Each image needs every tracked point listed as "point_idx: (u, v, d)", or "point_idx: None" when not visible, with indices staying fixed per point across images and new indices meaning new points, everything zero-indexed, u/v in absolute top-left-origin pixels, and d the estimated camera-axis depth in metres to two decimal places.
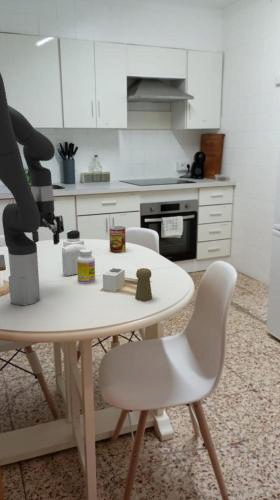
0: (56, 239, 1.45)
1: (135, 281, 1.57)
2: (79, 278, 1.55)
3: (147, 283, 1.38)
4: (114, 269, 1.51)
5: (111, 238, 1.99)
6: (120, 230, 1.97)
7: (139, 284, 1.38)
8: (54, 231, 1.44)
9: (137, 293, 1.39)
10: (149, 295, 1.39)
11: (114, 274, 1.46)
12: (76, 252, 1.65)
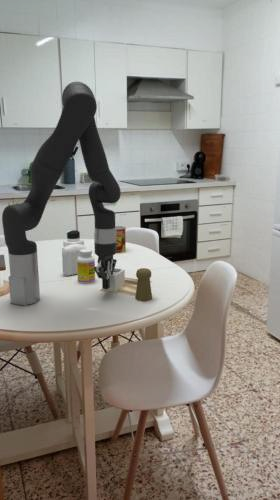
0: None
1: (135, 281, 1.57)
2: (79, 278, 1.55)
3: (147, 283, 1.38)
4: (114, 269, 1.51)
5: None
6: (120, 230, 1.97)
7: (139, 284, 1.38)
8: (110, 274, 1.44)
9: (137, 293, 1.39)
10: (149, 295, 1.39)
11: (114, 274, 1.46)
12: (76, 252, 1.65)
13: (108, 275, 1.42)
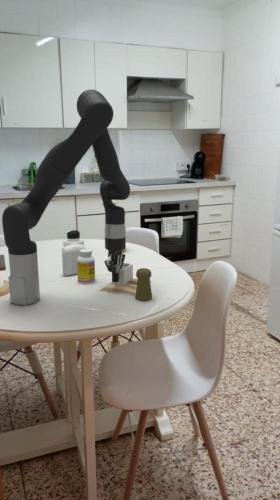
0: None
1: (135, 281, 1.57)
2: (79, 278, 1.55)
3: (147, 283, 1.38)
4: (123, 264, 1.58)
5: None
6: None
7: (139, 284, 1.38)
8: (119, 268, 1.51)
9: (137, 293, 1.39)
10: (149, 295, 1.39)
11: (123, 268, 1.53)
12: (76, 252, 1.65)
13: (118, 269, 1.49)
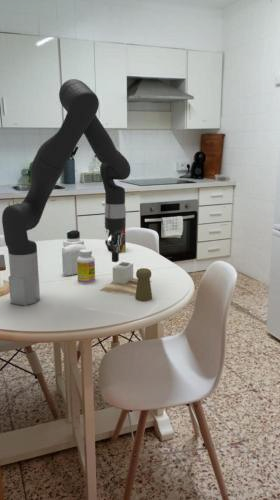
0: None
1: (135, 281, 1.57)
2: (79, 278, 1.55)
3: (147, 283, 1.38)
4: (123, 263, 1.59)
5: None
6: None
7: (139, 284, 1.38)
8: (119, 248, 1.51)
9: (137, 293, 1.39)
10: (149, 295, 1.39)
11: (123, 268, 1.54)
12: (76, 252, 1.65)
13: (117, 249, 1.50)
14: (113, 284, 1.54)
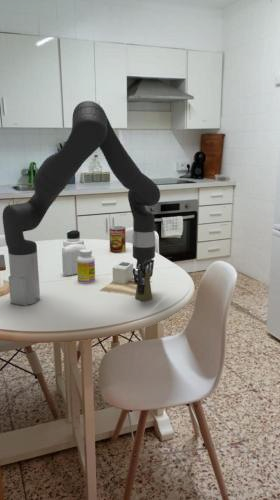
0: None
1: None
2: (79, 278, 1.55)
3: (147, 283, 1.38)
4: (123, 263, 1.59)
5: (111, 238, 1.99)
6: (120, 230, 1.97)
7: None
8: None
9: (137, 293, 1.39)
10: (149, 295, 1.39)
11: (123, 268, 1.54)
12: (76, 252, 1.65)
13: (144, 281, 1.37)
14: (113, 284, 1.54)
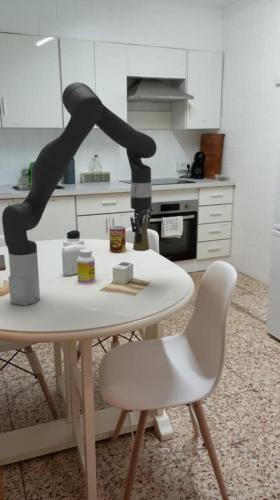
0: None
1: (135, 281, 1.57)
2: (79, 278, 1.55)
3: (144, 232, 1.47)
4: (123, 263, 1.59)
5: (111, 238, 1.99)
6: (120, 230, 1.97)
7: None
8: None
9: None
10: (146, 244, 1.48)
11: (123, 268, 1.54)
12: (76, 252, 1.65)
13: (141, 230, 1.47)
14: (113, 284, 1.54)
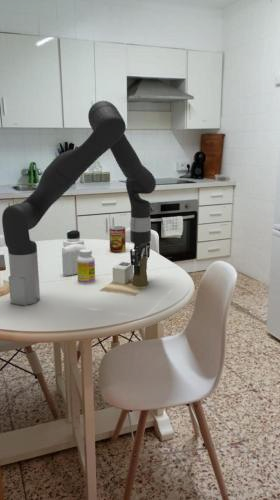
0: (146, 264, 1.57)
1: None
2: (79, 278, 1.55)
3: (143, 269, 1.51)
4: (123, 263, 1.59)
5: (111, 238, 1.99)
6: (120, 230, 1.97)
7: None
8: (147, 257, 1.56)
9: (134, 278, 1.52)
10: (145, 280, 1.52)
11: (123, 268, 1.54)
12: (76, 252, 1.65)
13: None
14: (113, 284, 1.54)
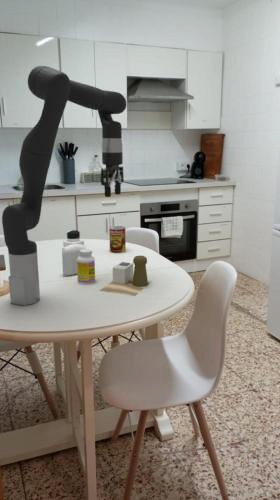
0: None
1: None
2: (79, 278, 1.55)
3: (143, 269, 1.51)
4: (123, 263, 1.59)
5: (111, 238, 1.99)
6: (120, 230, 1.97)
7: (136, 270, 1.51)
8: (121, 181, 1.56)
9: (134, 278, 1.52)
10: (145, 280, 1.52)
11: (123, 268, 1.54)
12: (76, 252, 1.65)
13: None
14: (113, 284, 1.54)
